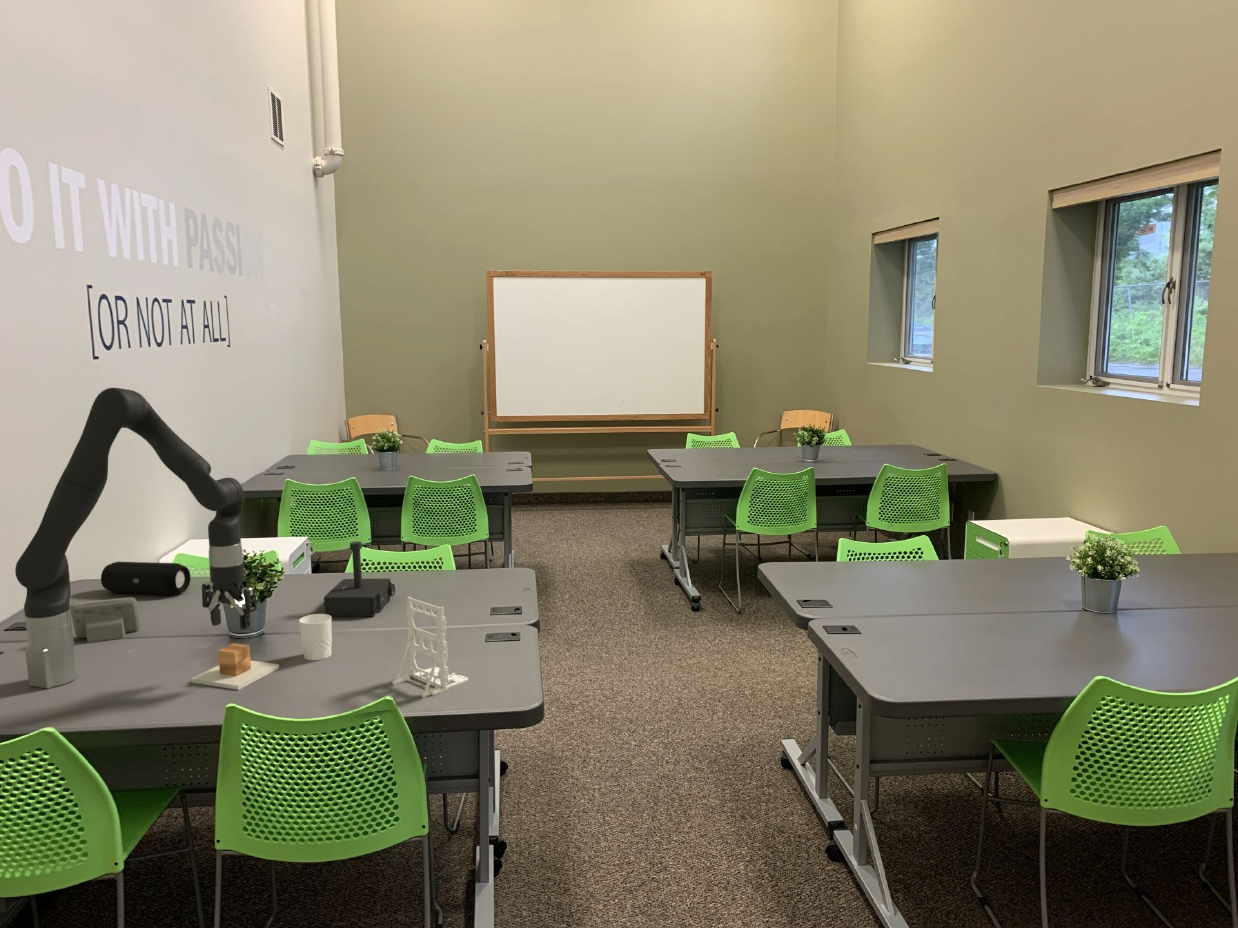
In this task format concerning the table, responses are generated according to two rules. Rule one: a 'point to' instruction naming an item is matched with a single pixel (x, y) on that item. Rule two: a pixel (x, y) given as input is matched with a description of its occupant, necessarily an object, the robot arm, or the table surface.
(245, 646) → the orange block
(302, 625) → the white cup
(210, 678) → the pad
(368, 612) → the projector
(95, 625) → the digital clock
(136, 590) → the portable speaker
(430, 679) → the film strip holder
